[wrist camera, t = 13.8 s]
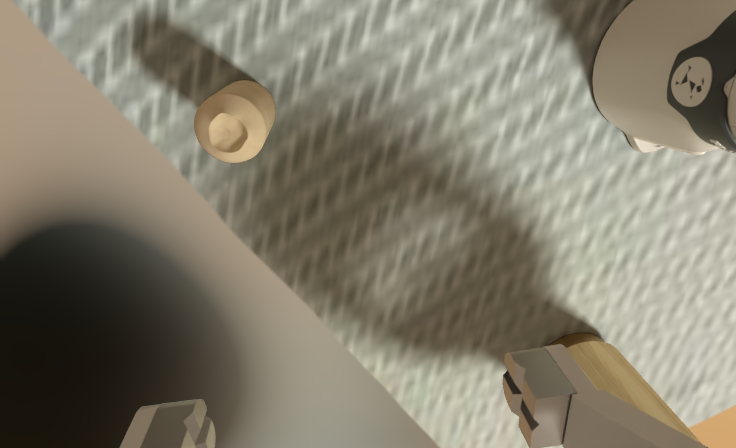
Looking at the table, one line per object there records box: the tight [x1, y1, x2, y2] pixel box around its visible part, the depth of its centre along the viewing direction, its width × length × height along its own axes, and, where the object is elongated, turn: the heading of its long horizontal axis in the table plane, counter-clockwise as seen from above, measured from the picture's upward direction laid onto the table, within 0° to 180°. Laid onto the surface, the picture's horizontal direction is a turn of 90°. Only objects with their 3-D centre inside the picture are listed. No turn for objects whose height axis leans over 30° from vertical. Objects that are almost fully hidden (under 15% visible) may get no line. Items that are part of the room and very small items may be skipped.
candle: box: [194, 80, 276, 163], centre depth 36 cm, size 6×6×10 cm
